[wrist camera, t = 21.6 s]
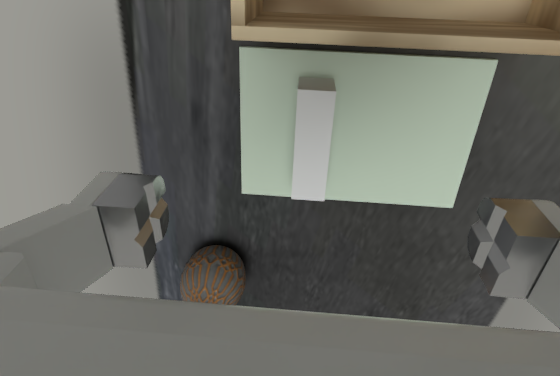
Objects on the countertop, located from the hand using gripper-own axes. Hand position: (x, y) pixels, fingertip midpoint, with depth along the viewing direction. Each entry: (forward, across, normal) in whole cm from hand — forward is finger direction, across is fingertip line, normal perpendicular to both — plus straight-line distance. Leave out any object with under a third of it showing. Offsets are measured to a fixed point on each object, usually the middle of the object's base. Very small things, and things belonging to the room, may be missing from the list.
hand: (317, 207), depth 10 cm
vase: (+25, +9, +25) cm, 37 cm away
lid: (+26, -4, +9) cm, 28 cm away
